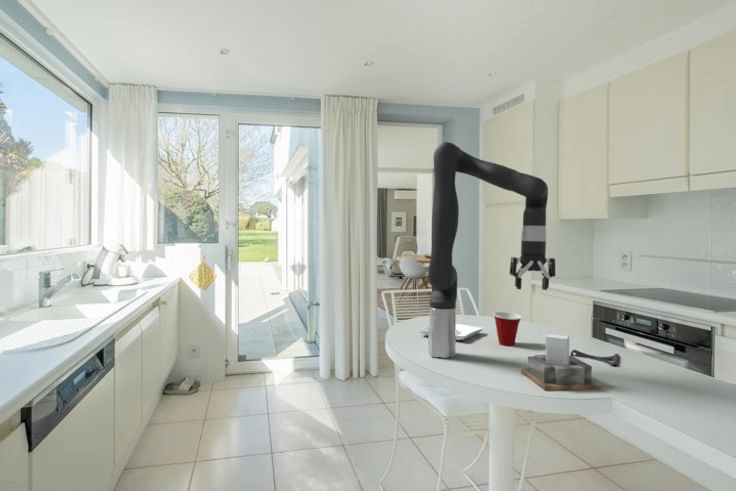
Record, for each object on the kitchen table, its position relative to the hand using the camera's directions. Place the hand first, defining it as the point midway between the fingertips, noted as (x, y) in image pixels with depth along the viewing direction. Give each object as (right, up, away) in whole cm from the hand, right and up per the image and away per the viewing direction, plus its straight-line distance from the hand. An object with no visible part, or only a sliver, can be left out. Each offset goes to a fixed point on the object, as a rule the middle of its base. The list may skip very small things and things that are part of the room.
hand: (531, 289), depth 142 cm
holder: (+3, -26, -13) cm, 29 cm away
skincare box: (+3, -25, -13) cm, 28 cm away
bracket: (+26, -26, +10) cm, 38 cm away
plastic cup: (+1, -25, +29) cm, 38 cm away
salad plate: (-18, -25, +45) cm, 54 cm away
